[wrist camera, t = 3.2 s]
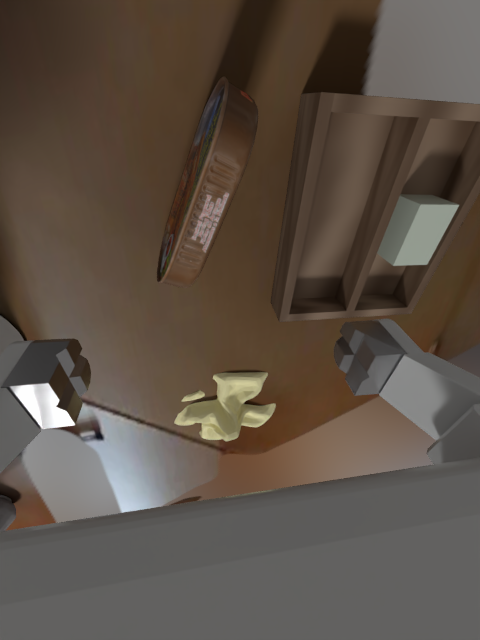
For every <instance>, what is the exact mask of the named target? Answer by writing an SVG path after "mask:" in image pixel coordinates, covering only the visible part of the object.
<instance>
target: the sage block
mask: <svg viewBox="0 0 480 640" xmlns="http://www.w3.org/2000/svg"><path fill="white" fill-rule="evenodd" d="M458 207H459V204H456V203H453V202H450V201H448V200H445V199H442V198H439V197H437V196H434V195H408V194H400V197H399V199H398V202H397V204H396V207H395V209H394V212H393V214H392V217H391V219H390V222H389V224H388V227H387V229H386V232H385V235H384V237H383V240H382V242H381V245H380V247H379V250H378V252H377V254H379V255H380V256H381V257H382V258H384V259H385V260H386V261H388V262H389V263H390V264H391V265H393V266H403V265H427V264H428V262H429V260H430V259H431V257H432V255H433V253H434V251H435V249H436V247H437V246H438V244H439V242H440V240H441V238H442V236H443V234H444V233H445V231H446V229H447V227H448V225H449V223H450V221H451V220H452V218H453V216H454V214H455V212H456V210H457V208H458Z"/></svg>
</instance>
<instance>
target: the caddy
mask: <svg viewBox="0 0 480 640" xmlns="http://www.w3.org/2000/svg"><path fill="white" fill-rule="evenodd" d="M479 193H480V104H469V103H457V102H443V101H431V100H418V99H405V98H392V97H378V96H365V95H352V94H339V93H326V92H317V93H307V94H301V100H300V107H299V114H298V121H297V127H296V134H295V141H294V148H293V154H292V161H291V168H290V175H289V181H288V188H287V195H286V202H285V208H284V215H283V222H282V229H281V236H280V242H279V249H278V256H277V263H276V269H275V276H274V283H273V290H272V296H271V304H272V306H273V309H274V311H275V313H276V316H277V318H278V320H279V322H285V321H301V320H317V319H333V318H349V317H365V316H381V315H397V314H411V313H412V311H413V309H414V307H415V306H416V304H417V302H418V300H419V299H420V297H421V295H422V293H423V292H424V290H425V288H426V286H427V284H428V283H429V281H430V279H431V277H432V276H433V274H434V272H435V270H436V269H437V267H438V265H439V263H440V262H441V260H442V258H443V256H444V255H445V253H446V251H447V249H448V248H449V246H450V244H451V242H452V241H453V239H454V237H455V235H456V234H457V232H458V230H459V228H460V226H461V225H462V223H463V221H464V219H465V218H466V216H467V214H468V212H469V211H470V209H471V207H472V205H473V204H474V202H475V200H476V198H477V197H478V195H479ZM400 194H408V195H434V196H437V197H439V198H442V199H445V200H448V201H450V202H453V203H456V204H459V207H458V208H457V210H456V212H455V214H454V216H453V218H452V220H451V221H450V223H449V225H448V227H447V229H446V231H445V233H444V234H443V236H442V238H441V240H440V242H439V244H438V246H437V247H436V249H435V251H434V253H433V255H432V257H431V259H430V260H429V262H428V264H427V265H403V266H393V265H391V264H390V263H389V262H388V261H386V260H385V259H384V258H382V257H381V256H380V255H379V254H377V252H378V250H379V247H380V245H381V242H382V240H383V237H384V235H385V232H386V229H387V227H388V224H389V222H390V219H391V217H392V214H393V212H394V209H395V207H396V204H397V202H398V199H399V197H400Z"/></svg>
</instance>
